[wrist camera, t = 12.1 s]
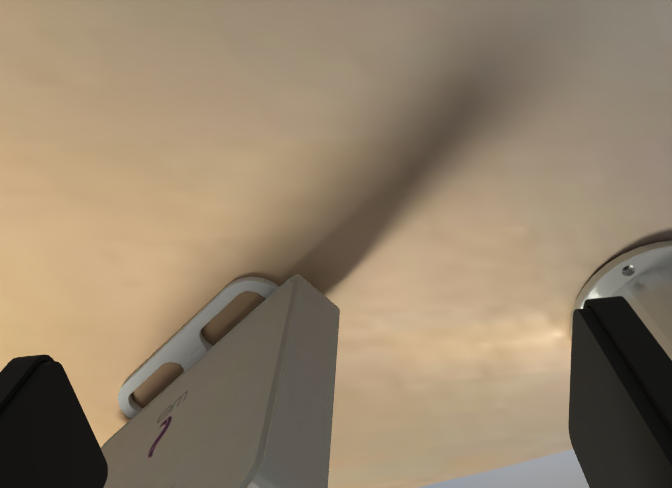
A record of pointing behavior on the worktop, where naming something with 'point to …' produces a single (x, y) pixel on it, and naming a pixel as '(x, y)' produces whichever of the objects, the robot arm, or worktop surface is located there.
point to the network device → (237, 399)
